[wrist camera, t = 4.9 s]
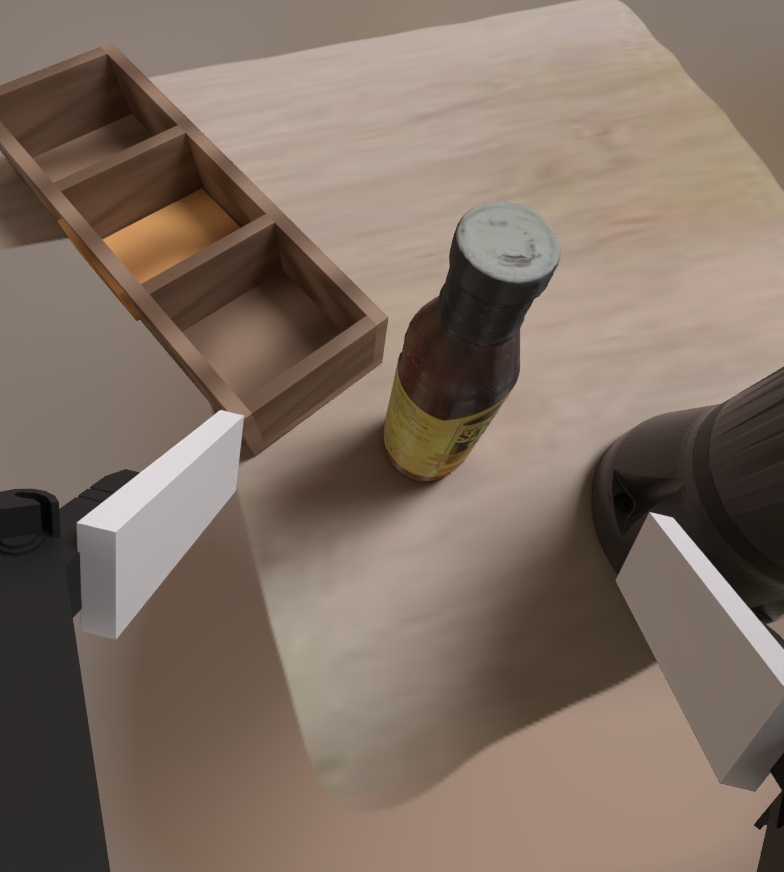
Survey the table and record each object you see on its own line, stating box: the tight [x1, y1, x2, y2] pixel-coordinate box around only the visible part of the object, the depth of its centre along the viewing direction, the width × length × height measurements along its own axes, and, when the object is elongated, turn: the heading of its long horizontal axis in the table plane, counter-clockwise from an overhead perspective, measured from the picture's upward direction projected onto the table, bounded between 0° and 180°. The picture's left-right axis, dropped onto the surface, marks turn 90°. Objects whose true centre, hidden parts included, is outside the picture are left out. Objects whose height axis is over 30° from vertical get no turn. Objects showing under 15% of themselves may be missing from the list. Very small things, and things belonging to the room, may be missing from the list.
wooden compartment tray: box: [0, 43, 388, 456], centre depth 37 cm, size 34×12×6 cm, turn 42°
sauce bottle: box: [384, 202, 560, 481], centre depth 27 cm, size 6×6×20 cm
